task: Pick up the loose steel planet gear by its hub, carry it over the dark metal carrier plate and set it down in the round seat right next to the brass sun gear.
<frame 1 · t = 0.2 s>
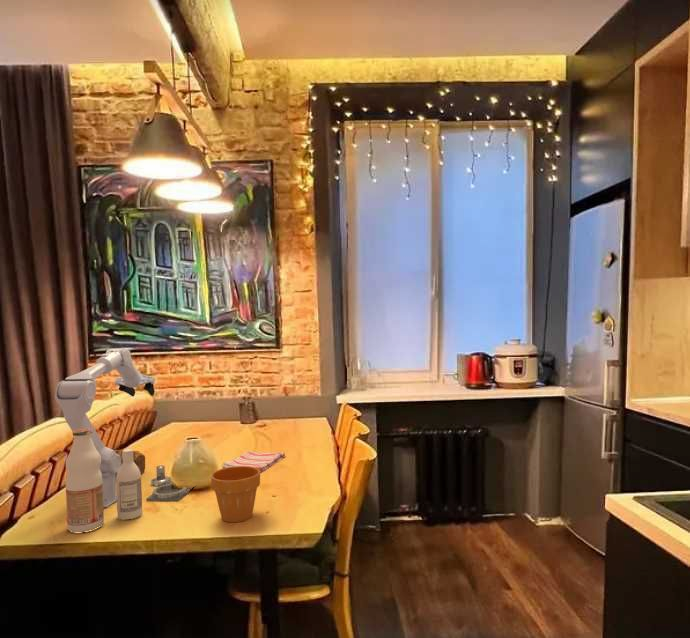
hand: (143, 393, 196), 31 cm above the table, tool tilted 45°, fingers open, 7 cm apart
dish towel: (254, 465, 207), on the table
bread: (116, 477, 196), on the table
fruit juice: (86, 528, 148), on the table
carrier plate: (172, 492, 175), on the table
flower pot: (237, 517, 153), on the table
bath foam: (130, 517, 156), on the table
planet gear: (161, 483, 186), on the table
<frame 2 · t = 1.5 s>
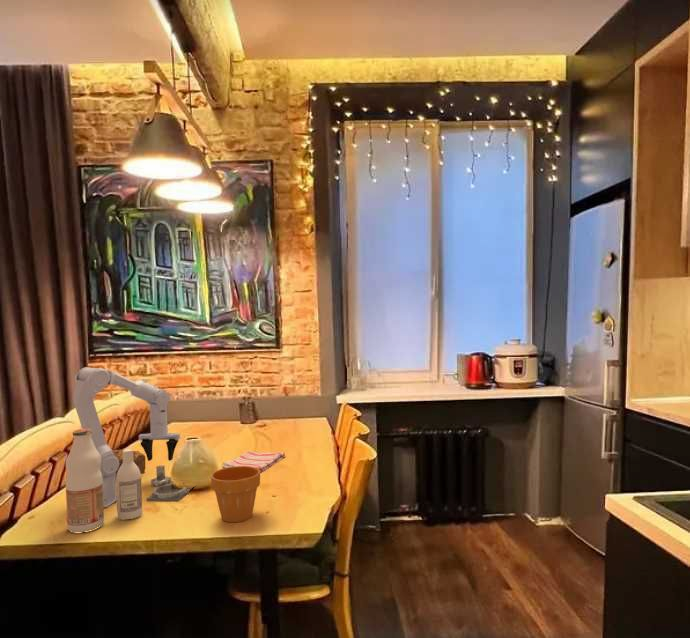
hand: (160, 459, 186), 8 cm above the table, tool pointing down, fingers open, 7 cm apart
nothing on the table moved.
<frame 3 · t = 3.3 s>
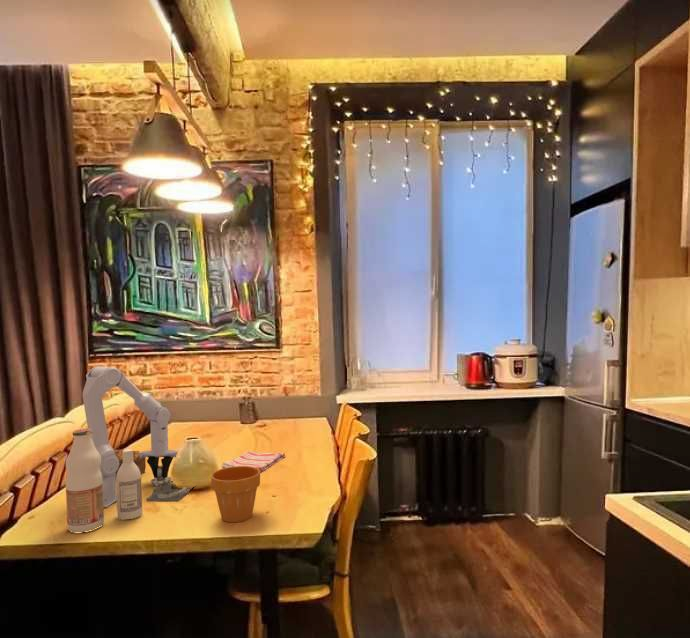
hand: (160, 477, 186), 2 cm above the table, tool pointing down, fingers closed on planet gear, 3 cm apart
planet gear: (161, 483, 186), on the table, touching gripper
everything else where it was.
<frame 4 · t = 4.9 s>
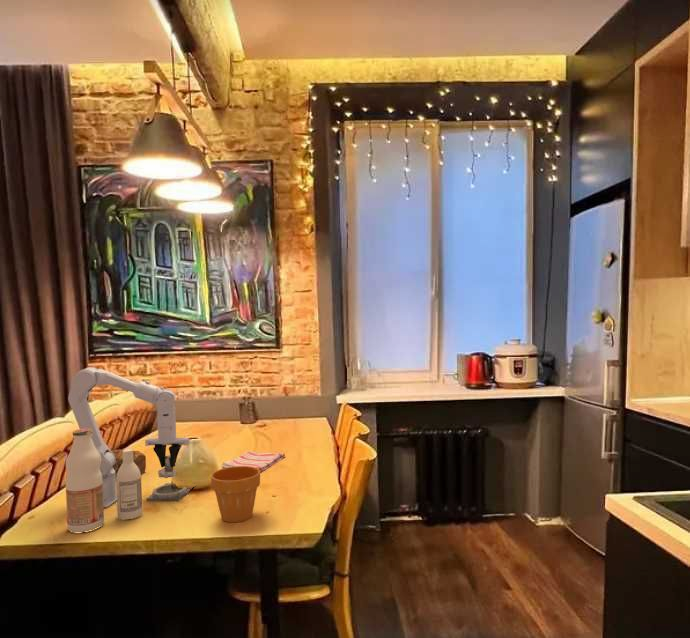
hand: (168, 466, 174), 9 cm above the table, tool pointing down, fingers closed on planet gear, 3 cm apart
planet gear: (169, 474, 174), point 7 cm above the table, touching gripper
everything else where it was.
when the fingers open (4 cm above the table, at t = 6.8 s): planet gear stays where it is, resting on carrier plate.
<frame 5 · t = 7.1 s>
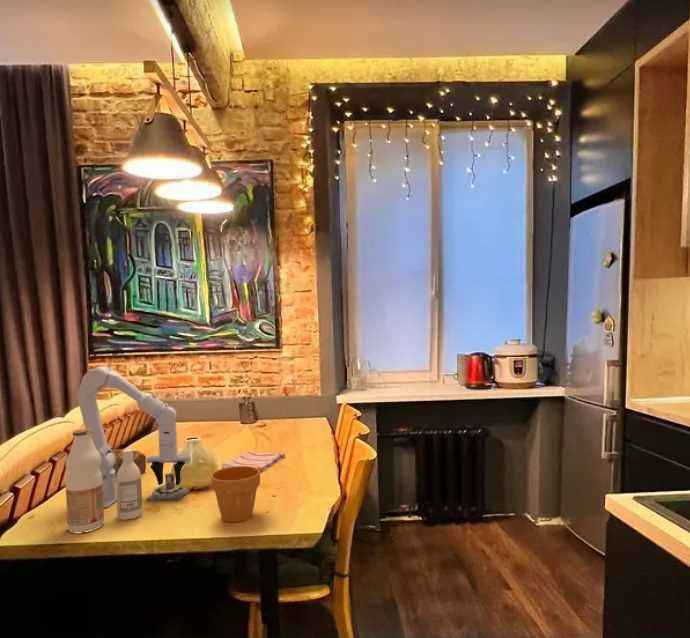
hand: (169, 484, 173), 4 cm above the table, tool pointing down, fingers open, 5 cm apart
planet gear: (170, 492, 174), point 1 cm above the table, touching carrier plate
everything else where it was.
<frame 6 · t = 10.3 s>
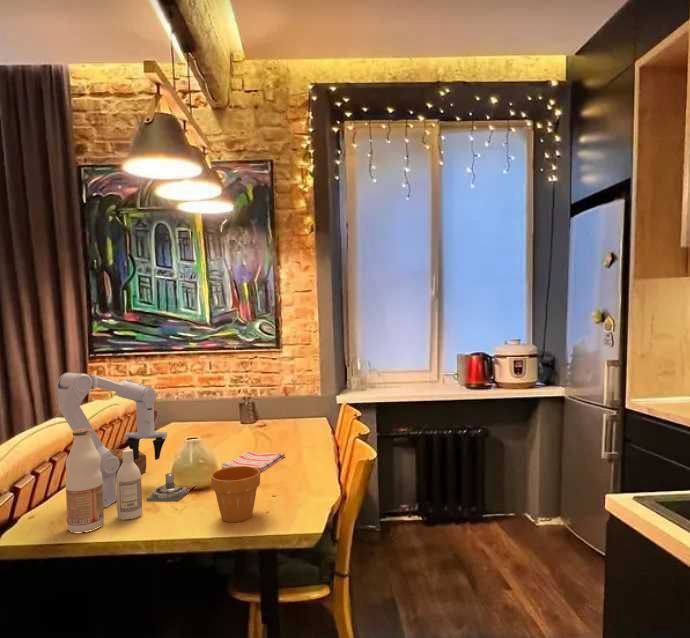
hand: (146, 459, 182), 10 cm above the table, tool pointing down, fingers open, 7 cm apart
at the end: planet gear 0.5 cm from the target spot on the carrier plate, point 0.8 cm above the carrier plate's base; planet gear tilted 0°; the gripper is holding nothing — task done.
